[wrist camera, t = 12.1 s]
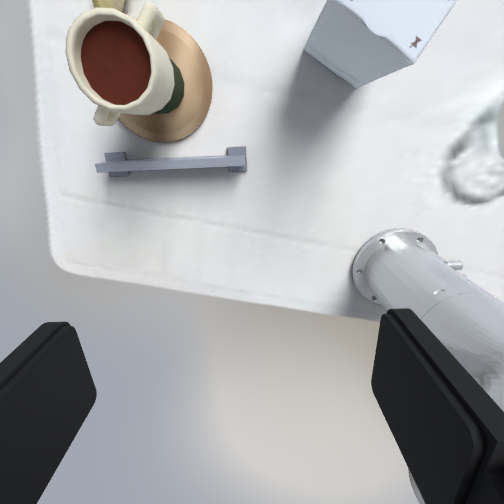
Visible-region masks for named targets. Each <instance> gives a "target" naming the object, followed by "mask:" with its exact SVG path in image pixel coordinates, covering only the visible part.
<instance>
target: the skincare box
mask: <svg viewBox="0 0 504 504" xmlns="http://www.w3.org/2000/svg"><path fill="white" fill-rule="evenodd" d="M456 1H457V0H327V2H326V4H325V6H324V8H323V10H322V12H321V14H320V16H319V18H318V20H317V22H316V24H315V26H314V28H313V30H312V32H311V35H310V37H309V39H308V41H307V43H306V45H305V47H304V50H305V51H306V52H307V53H308V54H310V55H311V56H312V57H314V58H315V59H316V60H318V61H319V62H320V63H322V64H323V65H324V66H326V67H327V68H328V69H330V70H331V71H332V72H334V73H335V74H337V75H338V76H339V77H341V78H342V79H344V80H345V81H347V82H348V83H350V84H351V85H352V86H353V87H355V88H358V87H360V86H363V85H365V84H367V83H369V82H372V81H374V80H376V79H379V78H381V77H383V76H386V75H388V74H390V73H392V72H395V71H397V70H400V69H402V68H404V67H407V66H409V65H413V64H414V63H415V62H416V60H417V59H418V57H419V56H420V54H421V53H422V51H423V50H424V48H425V47H426V46H427V44H428V43H429V41H430V40H431V38H432V37H433V35H434V34H435V32H436V31H437V29H438V28H439V26H440V25H441V23H442V22H443V20H444V19H445V18H446V16H447V15H448V13H449V12H450V10H451V9H452V7H453V6H454V4H455V3H456Z"/></svg>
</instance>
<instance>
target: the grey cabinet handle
mask: <svg viewBox="0 0 504 504" xmlns="http://www.w3.org/2000/svg"><path fill="white" fill-rule="evenodd" d="M227 151H228V155H225V156H203V157H182V158H161V159H139V160H126V156H125V152H118V153H105V158H106V162H102V163H98V164H95V166H96V170H97V173H98V172H109V175H110V177H119V176H129V171H142V170H163V169H185V168H206V167H228V166H229V171H247V160H246V147H227Z"/></svg>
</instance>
